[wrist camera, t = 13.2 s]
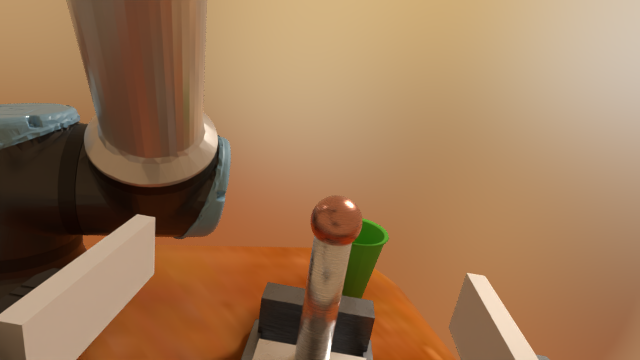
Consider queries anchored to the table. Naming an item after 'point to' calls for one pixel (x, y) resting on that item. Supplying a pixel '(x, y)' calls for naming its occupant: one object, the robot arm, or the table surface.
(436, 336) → the table surface
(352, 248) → the cup
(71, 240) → the robot arm
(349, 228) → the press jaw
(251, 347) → the base
